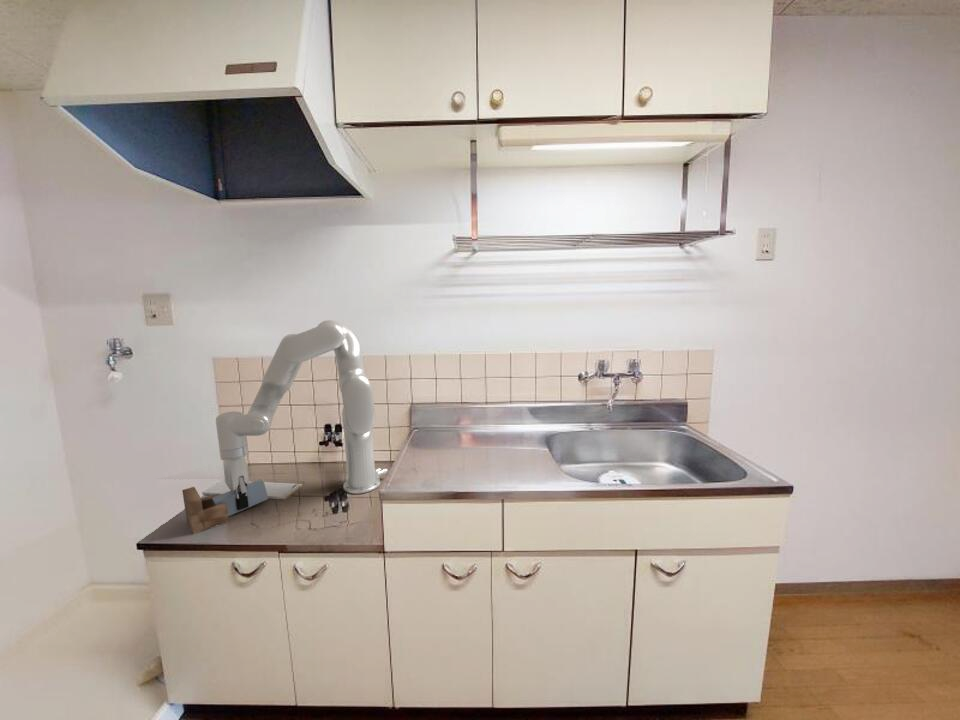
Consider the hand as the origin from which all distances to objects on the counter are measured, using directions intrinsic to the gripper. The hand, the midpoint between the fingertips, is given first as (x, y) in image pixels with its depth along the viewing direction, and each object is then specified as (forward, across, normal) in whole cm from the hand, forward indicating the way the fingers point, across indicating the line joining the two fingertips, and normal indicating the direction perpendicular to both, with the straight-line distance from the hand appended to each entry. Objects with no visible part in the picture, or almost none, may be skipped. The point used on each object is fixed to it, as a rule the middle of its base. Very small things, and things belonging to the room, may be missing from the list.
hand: (240, 505), depth 130 cm
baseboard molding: (+2, -13, +7) cm, 15 cm away
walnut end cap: (+2, 0, -9) cm, 9 cm away
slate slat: (+1, 0, +1) cm, 1 cm away
